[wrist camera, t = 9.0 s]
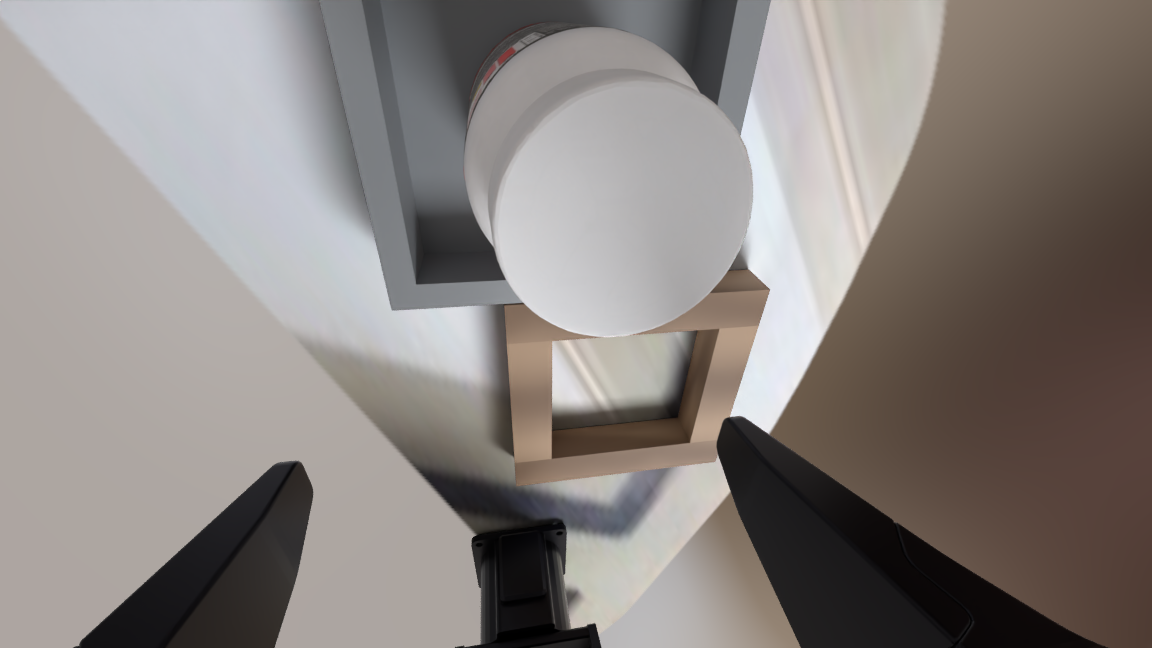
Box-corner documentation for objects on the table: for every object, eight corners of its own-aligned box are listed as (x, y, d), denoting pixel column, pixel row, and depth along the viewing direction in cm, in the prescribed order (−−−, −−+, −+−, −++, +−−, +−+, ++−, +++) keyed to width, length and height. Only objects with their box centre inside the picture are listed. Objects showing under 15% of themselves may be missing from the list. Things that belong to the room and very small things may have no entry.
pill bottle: (436, 132, 15) (384, 260, 7) (537, -26, 13) (619, -91, 5) (564, 227, 18) (629, 396, 10) (663, 106, 16) (844, 195, 8)
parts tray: (674, 254, 21) (705, 291, 18) (405, 266, 19) (391, 310, 16) (734, -94, 14) (798, -123, 11) (325, -129, 12) (277, -174, 9)
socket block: (702, 436, 29) (715, 461, 27) (514, 457, 27) (516, 486, 25) (749, 269, 22) (770, 289, 20) (502, 282, 20) (504, 305, 18)
